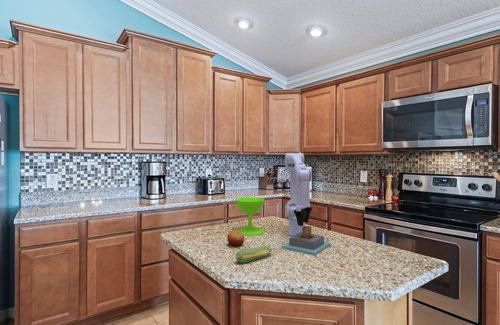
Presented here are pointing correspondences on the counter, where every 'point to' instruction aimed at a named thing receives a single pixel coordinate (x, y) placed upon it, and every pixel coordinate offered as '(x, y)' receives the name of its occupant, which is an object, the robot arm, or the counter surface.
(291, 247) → the socket board
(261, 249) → the edible corn
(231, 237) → the fruit
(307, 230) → the peg
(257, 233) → the wineglass
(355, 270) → the counter surface
